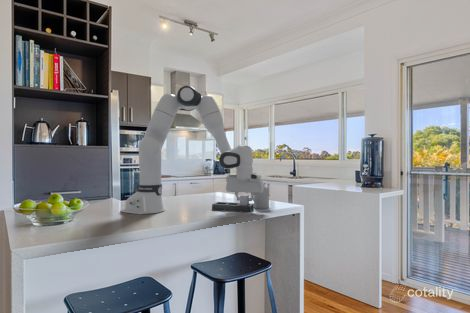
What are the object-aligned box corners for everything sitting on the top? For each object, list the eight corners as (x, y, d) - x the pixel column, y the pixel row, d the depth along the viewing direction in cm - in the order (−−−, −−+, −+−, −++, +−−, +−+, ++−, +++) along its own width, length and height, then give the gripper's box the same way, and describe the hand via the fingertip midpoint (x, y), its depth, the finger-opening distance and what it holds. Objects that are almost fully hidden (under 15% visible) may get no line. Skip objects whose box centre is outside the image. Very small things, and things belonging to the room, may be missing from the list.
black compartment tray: (212, 209, 162) (212, 204, 162) (217, 206, 170) (217, 201, 170) (249, 212, 155) (250, 206, 155) (253, 209, 164) (253, 203, 164)
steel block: (239, 210, 159) (239, 195, 159) (241, 209, 163) (241, 194, 163) (247, 211, 158) (247, 196, 158) (248, 209, 162) (248, 195, 162)
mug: (272, 207, 169) (272, 188, 169) (261, 209, 163) (261, 189, 163) (257, 204, 178) (257, 186, 178) (246, 206, 172) (246, 187, 172)
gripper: (224, 175, 161) (224, 200, 161) (261, 176, 155) (261, 202, 155) (228, 174, 167) (228, 198, 167) (264, 175, 161) (264, 200, 161)
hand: (244, 200), depth 161 cm, fingers open, 5 cm apart
